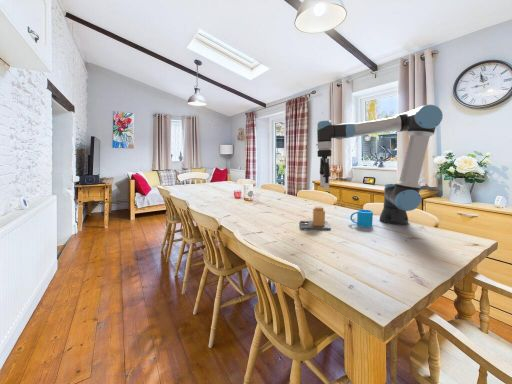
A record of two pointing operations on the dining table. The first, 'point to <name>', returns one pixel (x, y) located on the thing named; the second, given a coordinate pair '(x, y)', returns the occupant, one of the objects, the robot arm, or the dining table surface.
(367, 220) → the mug
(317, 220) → the brown rectangular block
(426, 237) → the dining table surface
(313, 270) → the dining table surface
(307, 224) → the plate
